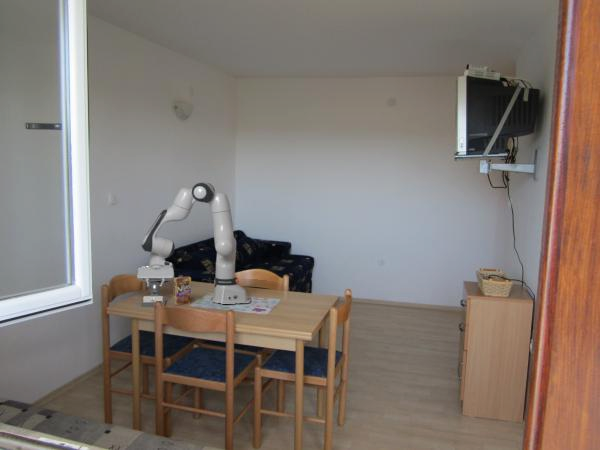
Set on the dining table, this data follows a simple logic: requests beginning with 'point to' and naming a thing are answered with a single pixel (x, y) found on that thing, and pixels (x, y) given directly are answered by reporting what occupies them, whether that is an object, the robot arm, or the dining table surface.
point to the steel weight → (154, 288)
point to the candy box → (181, 290)
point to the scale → (152, 300)
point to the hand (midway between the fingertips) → (154, 286)
